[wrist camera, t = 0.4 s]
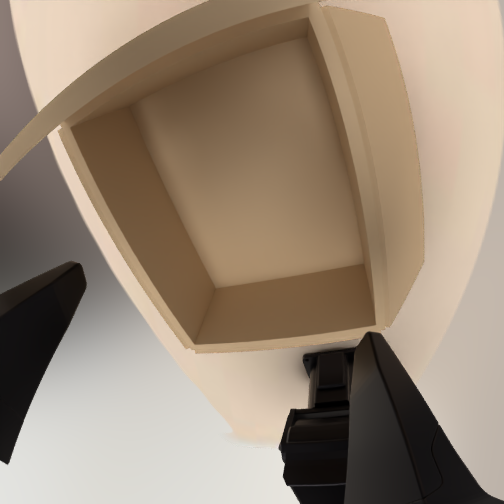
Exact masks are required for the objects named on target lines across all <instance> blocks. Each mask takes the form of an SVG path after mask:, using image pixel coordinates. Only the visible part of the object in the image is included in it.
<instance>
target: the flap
mask: <svg viewBox="0 0 504 504" xmlns="http://www.w3.org/2000/svg"><path fill="white" fill-rule="evenodd" d="M320 1H326V0H209V1H207V2H204V3H202V4H200V5H197V6H195V7H193V8H191V9H189V10H186V11H184V12H182V13H180V14H178V15H176V16H174V17H172V18H170V19H168V20H166V21H164V22H162V23H160V24H159V25H157V26H155V27H153V28H151V29H150V30H148V31H146V32H144V33H143V34H141V35H139V36H138V37H136V38H134V39H133V40H131V41H129V42H128V43H126V44H125V45H123V46H122V47H120V48H119V49H117V50H116V51H114V52H113V53H111V54H110V55H108V56H107V57H105V58H104V59H103V60H101V61H100V62H98V63H97V64H96V65H94V66H93V67H92V68H90V69H89V70H88V71H86V72H85V73H84V74H83V75H81V76H80V77H79V78H77V79H76V80H75V81H74V82H73V83H71V84H70V85H69V86H68V87H67V88H65V89H64V90H63V91H62V92H61V93H60V94H59V95H57V96H56V97H55V98H54V99H53V100H52V101H51V102H50V103H49V104H48V105H46V106H45V107H44V108H43V109H42V110H41V111H40V112H39V113H38V114H37V115H36V116H35V117H34V118H33V119H32V120H31V121H30V122H29V123H28V124H27V125H26V126H25V127H24V129H23V130H22V131H21V132H20V133H19V134H18V135H17V136H16V137H15V138H14V140H13V141H12V142H11V143H10V144H9V145H8V146H7V148H6V149H5V150H4V151H3V152H2V154H1V155H0V181H1V180H2V179H3V178H4V177H5V175H6V174H7V173H8V172H9V171H10V170H11V169H12V168H13V167H14V166H15V165H16V164H17V163H18V162H19V161H20V160H21V159H22V158H23V157H24V156H25V155H26V154H27V153H28V152H29V151H30V150H31V149H32V148H33V147H34V146H35V145H36V144H38V143H39V142H40V141H41V140H42V139H43V138H44V137H45V136H47V135H48V134H49V133H50V132H51V131H52V130H54V129H55V128H56V127H57V126H58V125H60V124H61V123H62V122H63V121H64V120H66V119H67V118H68V117H69V116H71V115H72V114H73V113H75V112H76V111H77V110H78V109H80V108H81V107H82V106H84V105H85V104H87V103H88V102H89V101H91V100H92V99H93V98H95V97H96V96H98V95H99V94H101V93H102V92H104V91H105V90H107V89H108V88H110V87H111V86H113V85H114V84H116V83H117V82H119V81H120V80H122V79H124V78H125V77H127V76H129V75H130V74H132V73H134V72H135V71H137V70H139V69H140V68H142V67H144V66H146V65H147V64H149V63H151V62H153V61H155V60H157V59H159V58H160V57H162V56H164V55H166V54H168V53H170V52H172V51H174V50H176V49H178V48H180V47H182V46H185V45H187V44H189V43H191V42H193V41H196V40H198V39H200V38H202V37H205V36H207V35H210V34H212V33H214V32H217V31H219V30H222V29H225V28H227V27H230V26H233V25H236V24H238V23H241V22H244V21H247V20H250V19H253V18H256V17H260V16H263V15H266V14H270V13H273V12H277V11H280V10H284V9H288V8H292V7H296V6H301V5H305V4H310V3H315V2H320Z"/></svg>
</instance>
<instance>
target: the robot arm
mask: <svg viewBox="0 0 504 504" xmlns="http://www.w3.org/2000/svg"><path fill="white" fill-rule="evenodd" d="M86 286H87V282H86V278H85V275H84V271H83V267H82V265H81V264H80V263H77V262H74V261H69V262H67V263H64V264H62V265H60V266H58V267H56V268H54V269H51V270H49V271H47V272H45V273H43V274H41V275H38V276H36V277H34V278H32V279H30V280H28V281H26V282H24V283H22V284H20V285H18V286H16V287H14V288H12V289H10V290H8V291H6V292H4V293H2V294H0V461H2V462H4V463H6V464H8V463H9V462H10V459H11V456H12V452H13V450H14V446H15V443H16V441H17V438H18V435H19V433H20V430H21V427H22V425H23V422H24V419H25V417H26V414H27V412H28V409H29V406H30V404H31V402H32V400H33V397H34V395H35V393H36V390H37V388H38V386H39V384H40V382H41V380H42V378H43V375H44V373H45V371H46V369H47V367H48V365H49V363H50V361H51V359H52V357H53V355H54V353H55V351H56V349H57V347H58V345H59V343H60V342H61V340H62V338H63V336H64V334H65V332H66V330H67V328H68V327H69V325H70V322H71V320H72V318H73V316H74V314H75V311H76V309H77V307H78V305H79V303H80V300H81V298H82V296H83V294H84V292H85V290H86ZM303 363H304V366H305V368H306V371H307V374H308V376H309V379H310V385H309V399H308V409H291V410H290V413H289V415H288V418H287V421H286V425H285V428H284V432H283V435H282V439H281V442H280V444H279V450H280V451H281V453H282V460H283V462H284V463H285V466H284V473H283V478H284V480H285V483H286V485H287V486H290V487H291V489H292V490H293V492H294V494H295V495H296V497H297V499H298V501H299V502H300V504H504V501H503V500H500V499H497V498H495V497H493V496H491V495H489V494H487V493H486V492H485V491H484V490H483V489H482V488H481V487H480V486H479V484H478V483H477V481H476V480H475V478H474V477H473V475H472V474H471V473H470V471H469V470H468V468H467V467H466V465H465V464H464V462H463V461H462V460H461V458H460V457H459V455H458V454H457V452H456V451H455V449H454V448H453V446H452V444H451V443H450V441H449V440H448V438H447V436H446V435H445V433H444V431H443V430H442V428H441V426H440V425H438V421H437V420H436V418H435V416H434V415H433V413H432V411H431V410H430V408H429V406H428V405H427V403H426V401H425V400H424V398H423V397H422V395H421V393H420V392H419V390H418V389H417V387H416V386H415V384H414V382H413V381H412V379H411V378H410V376H409V375H408V373H407V372H406V370H405V368H404V367H403V365H402V364H401V362H400V361H399V359H398V358H397V356H396V355H395V353H394V352H393V350H392V349H391V347H390V346H389V344H388V343H387V342H386V340H385V339H384V337H383V336H382V334H380V333H378V332H372V331H368V332H366V333H365V335H364V337H363V338H362V340H361V341H360V343H359V345H358V346H357V348H354V349H348V350H341V351H333V352H326V353H317V354H309V355H304V356H303Z"/></svg>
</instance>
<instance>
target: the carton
mask: <svg viewBox="0 0 504 504" xmlns="http://www.w3.org/2000/svg"><path fill="white" fill-rule="evenodd" d="M60 125H61V127H62V128H61V129H60V130H58V133H59V135H60V138H61V140H62V142H63V145H64V147H65V149H66V151H67V153H68V156H69V158H70V160H71V162H72V164H73V166H74V168H75V171H76V173H77V175H78V177H79V179H80V181H81V183H82V185H83V187H84V189H85V191H86V193H87V195H88V196H89V198H90V200H91V202H92V204H93V206H94V208H95V210H96V211H97V213H98V215H99V217H100V219H101V221H102V222H103V224H104V226H105V228H106V229H107V231H108V233H109V235H110V236H111V238H112V240H113V242H114V243H115V245H116V247H117V248H118V250H119V252H120V253H121V255H122V256H123V258H124V260H125V261H126V263H127V265H128V266H129V268H130V269H131V271H132V273H133V274H134V276H135V277H136V279H137V280H138V282H139V283H140V285H141V286H142V288H143V289H144V291H145V292H146V294H147V295H148V297H149V298H150V300H151V301H152V303H153V304H154V306H155V307H156V309H157V310H158V311H159V313H160V314H161V316H162V317H163V319H164V320H165V321H166V323H167V324H168V325H169V327H170V328H171V330H172V331H173V332H174V334H175V335H176V336H177V338H178V339H179V340H180V342H181V343H182V344H183V346H184V347H185V348H186V349H188V348H190V349H191V350H195V353H224V352H243V351H257V350H270V349H281V348H291V347H301V346H309V345H318V344H325V343H333V342H340V341H346V340H353V339H359V338H363V337H364V335H365V333H366V332H368V331H372V332H378V333H380V334H381V330H385V326H386V327H389V328H390V326H391V324H392V323H393V321H394V319H395V317H396V315H397V314H398V312H399V310H400V308H401V306H402V305H403V303H404V301H405V299H406V297H407V295H408V293H409V291H410V289H411V287H412V285H413V283H414V281H415V279H416V277H417V275H418V273H419V271H420V269H421V267H422V265H423V263H424V215H423V198H422V185H421V175H420V166H419V158H418V150H417V143H416V137H415V131H414V125H413V120H412V115H411V110H410V105H409V100H408V96H407V91H406V87H405V83H404V79H403V75H402V71H401V68H400V64H399V61H398V57H397V54H396V51H395V47H394V44H393V41H392V38H391V35H390V32H389V29H388V27H387V24H386V21H385V18H382V17H379V16H375V15H371V14H367V13H362V12H358V11H353V10H348V9H343V8H338V7H332V6H324V7H321V8H320V5H319V3H318V2H315V3H310V4H305V5H301V6H296V7H292V8H288V9H284V10H280V11H277V12H273V13H270V14H266V15H263V16H260V17H256V18H253V19H250V20H247V21H244V22H241V23H238V24H236V25H233V26H230V27H227V28H225V29H222V30H219V31H217V32H214V33H212V34H210V35H207V36H205V37H202V38H200V39H198V40H196V41H193V42H191V43H189V44H187V45H185V46H182V47H180V48H178V49H176V50H174V51H172V52H170V53H168V54H166V55H164V56H162V57H160V58H159V59H157V60H155V61H153V62H151V63H149V64H147V65H146V66H144V67H142V68H140V69H139V70H137V71H135V72H134V73H132V74H130V75H129V76H127V77H125V78H124V79H122V80H120V81H119V82H117V83H116V84H114V85H113V86H111V87H110V88H108V89H107V90H105V91H104V92H102V93H101V94H99V95H98V96H96V97H95V98H93V99H92V100H91V101H89V102H88V103H87V104H85V105H84V106H82V107H81V108H80V109H78V110H77V111H76V112H75V113H73V114H72V115H71V116H69V117H68V118H67V119H66V120H64V121H63V122H62V123H61V124H60Z"/></svg>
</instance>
